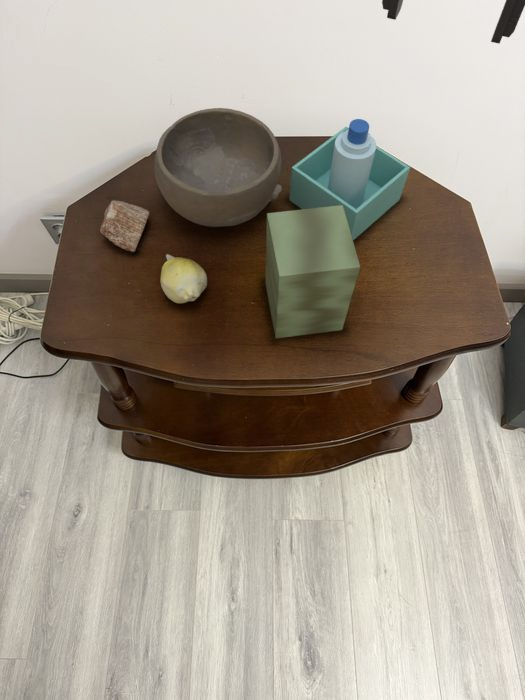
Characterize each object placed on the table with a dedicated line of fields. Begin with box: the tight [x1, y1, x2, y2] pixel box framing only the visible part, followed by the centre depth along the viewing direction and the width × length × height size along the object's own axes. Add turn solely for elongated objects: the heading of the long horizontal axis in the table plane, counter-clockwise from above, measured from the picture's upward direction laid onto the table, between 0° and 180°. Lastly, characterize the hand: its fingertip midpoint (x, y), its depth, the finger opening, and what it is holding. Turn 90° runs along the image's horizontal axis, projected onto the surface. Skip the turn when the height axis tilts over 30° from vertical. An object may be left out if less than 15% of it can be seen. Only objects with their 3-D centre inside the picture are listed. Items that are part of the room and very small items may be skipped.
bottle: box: [328, 118, 377, 209], centre depth 75 cm, size 6×6×13 cm
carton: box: [288, 126, 411, 241], centre depth 78 cm, size 12×12×6 cm
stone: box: [99, 200, 150, 253], centre depth 76 cm, size 7×6×5 cm
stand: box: [264, 205, 361, 339], centre depth 66 cm, size 9×9×14 cm
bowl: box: [153, 107, 283, 228], centre depth 76 cm, size 17×18×10 cm
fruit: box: [159, 253, 208, 304], centre depth 71 cm, size 6×6×10 cm
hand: (444, 25), depth 43 cm, fingers open, 8 cm apart
